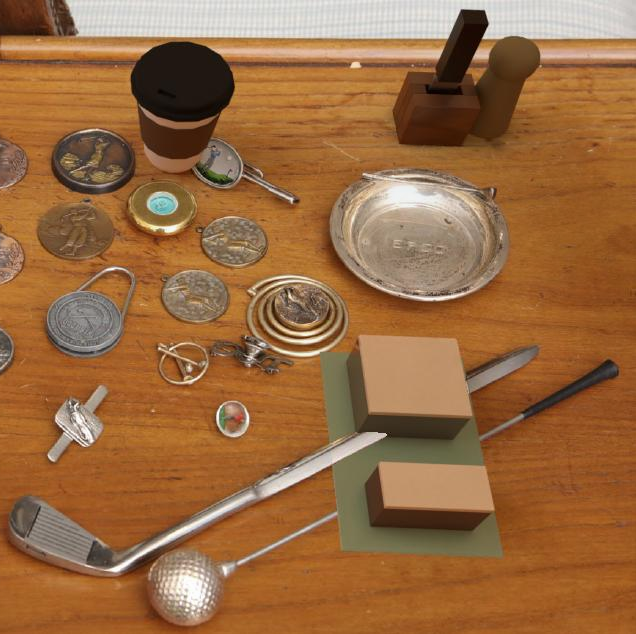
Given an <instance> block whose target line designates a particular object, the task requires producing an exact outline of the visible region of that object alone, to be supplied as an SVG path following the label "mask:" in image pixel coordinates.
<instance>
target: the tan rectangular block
mask: <svg viewBox="0 0 636 634" xmlns="http://www.w3.org/2000/svg"><path fill="white" fill-rule="evenodd" d="M365 491H366V499H367V506H368V514H369V522H370V526H371V527H395V528H419V529H443V530H467V531H473V530H474V529H475V528H476V527H477V526H478V525H480V524H481V523H482V522H483V521H484V520H485V519H486V518H487V517H488V516H489V515H490V514H491V513H493V512H494V511H495V510H496V509H495V504H494V499H493V494H492V490H491V485H490V481H489V476H488V471H487V466H486V465H485V466H473V465H448V464H424V463H399V462H379V464H378V466H377V467H376V469H375V470H374V471H373V473H372V474H371V476H370V477H369V479H368V480H367V481H366V483H365Z"/></svg>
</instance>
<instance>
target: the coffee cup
mask: <svg viewBox="0 0 636 634" xmlns="http://www.w3.org/2000/svg"><path fill="white" fill-rule="evenodd" d="M129 80H130V90H131V94H132V96H133V98H134V99H135V100H136V106H137V114H138V122H139V129H140V137H141V138H140V139H141V141H142V142H143V149H144V154H145V156H146V158H147V159H148V160H149V162H150V163H151V165H152V166H153V167H155V168H157V169H158V170H159V171H162V172H166V173H169V174H175V173H177V174H181V173H183V172H184V173H185V172H186V171H187V172H188V171H189V170H191V169H192V168H193V167H194V166H196V165H197V164H198V163H199V162H200V161H201V160H202V158H203V157H202V156H203V154H204V152H205V150H206V149H207V148H208V147H209V144H210V141H211V138H212V137H213V134H214V131H215V129H216V126H217V124H218V122H219V119H220V117H221V114H222V112H223V111H224V110H225V109H226V108H227V107H228V106H229V105H230V103H231V100H232V99H233V96H234V94H235V90H236V85H235V79H234V73H233V71H232V70H231V66H230V65H229V64H228V63H227V61H226V60H225V59H224V57H223V55H222V54H221V53H218V52H216V50H213V49H212V48H210V47H208V46H206V45H205V44H204V45H203V44H200V43H196V42H193V41H189V40H188V41H186V40H184V41H168V42H164V43H161V44H158V45H155V46H152V47H151V48H150V49H149V50H147V51H146V52H145V53H143V54H142V55H141V56H140V58H139V59H138V60H137V61H136V62H135V64H134V66H133V69H132V70H131V73H130V78H129ZM196 163H197V164H196Z"/></svg>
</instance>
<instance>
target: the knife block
mask: <svg viewBox="0 0 636 634" xmlns="http://www.w3.org/2000/svg"><path fill="white" fill-rule="evenodd" d="M434 74H436V71H435V72H434V71H411V70H410V71H407V73H406V76H405V78H404V81H403V83H402V86H401V88H400V90H399V93H398V95H397V97H396V100H395V102H394V106H393V109H392V113H393V114H392V115H393V118H394V123H395V128H396V134H397V139H398V144H400V145H423V146H424V145H425V146H451V147H462V146H463V144H464V142H465V140H466V138H467V137H468V134H469V133H468V132H469V130H470V129H471V127H472V125H473V123H474V121H475V119H476V117H477V115H478V113H479V111H480V109H481V107H480V104H479V100H478V96H477V92H476V88H475V85H476V83H475V81H474V77H473V74H472V73H466V74H465V76H464V78H463V80H462V82H461V83H459V85H458V87H457V89H456V92H455V94H454V95H442V94H427V93H426V91H427V89H428V87H429V84H430V82H431V80H432V77H433V75H434Z"/></svg>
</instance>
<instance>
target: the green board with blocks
mask: <svg viewBox="0 0 636 634" xmlns="http://www.w3.org/2000/svg"><path fill="white" fill-rule="evenodd" d="M319 359H320V368H321V378H322V387H323V388H322V389H323V396H324V406H325V414H326V423H327V424H326V425H327V431H328V441H329V444H330V443H333V442H334V441H336V440H338V439H340V438H343V437H345V436H347V435H350V434H351V433H354V432H357V433H362V432H378V433H386V434H387V436H386V437H385V438H383V439H381V440H380V441H378V442H376V443H374V444H371V445H369V446H367V447H366V448H364V449H362V450H360V451H358V452H356V453H354V454H352V455H350V456H348V457H346V458H344V459H343V460H341V461H339V462H337V463H336V464H333V465H332V464H331V467H332V468H331V469H332V476H333V477H332V479H333V487H334V496H335V505H336V511H337V512H336V513H337V514H336V515H337V523H338V531H339V540H340V548H341V552H349V553H350V552H351V553H352V552H353V553H375V554H395V555H396V554H397V555H398V554H399V555H423V556H447V557H464V558H465V557H467V558H468V557H469V558H493V559H504V558H505V555H504V551H503V546H502V541H501V536H500V532H499V531H500V530H499V527H498V521H497V516H496V512H495V511H494V512H493V513H491V514H490V515H489V516H488V517H487V518H486V519H485V520H484V521H483V522H482V523H481V524H480V525H478V526H477V527H476V528H475V529H474V530H473V531H467V530H443V529H419V528H395V527H371V526H370V522H369V514H368V506H367V499H366V491H365V483H366V481H367V480H368V479H369V477H370V476H371V474H372V473H373V471H374V470H375V469H376V467H377V466H378V464H379V462H399V463H424V464H448V465H473V466H486V464H485V458H484V454H483V450H482V449H483V448H482V444H481V440H480V435H479V430H478V426H477V421H476V415H475V411H474V406H473V401H472V396H471V392H470V393H469V394H468V390H467V386H466V381H465V377H466V376H467V372H466V367H465V362H464V358H463V356H461V352H460V347H459V343H458V339H457V338H455V337H431V336H429V337H428V336H408V335H407V336H405V335H384V334H383V335H378V334H359V335H358V337H357V339H356V341H355V343H354V345H353V347H352V349H351V350H350V352H343V351H342V352H339V351H319Z"/></svg>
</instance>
